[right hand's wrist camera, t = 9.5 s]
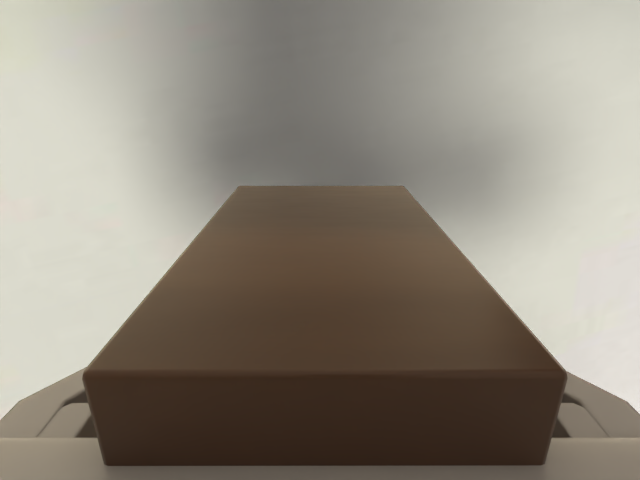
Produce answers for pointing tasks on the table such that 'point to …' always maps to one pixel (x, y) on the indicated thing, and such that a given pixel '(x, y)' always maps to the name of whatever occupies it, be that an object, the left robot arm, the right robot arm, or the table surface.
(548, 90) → the table surface
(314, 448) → the bar
